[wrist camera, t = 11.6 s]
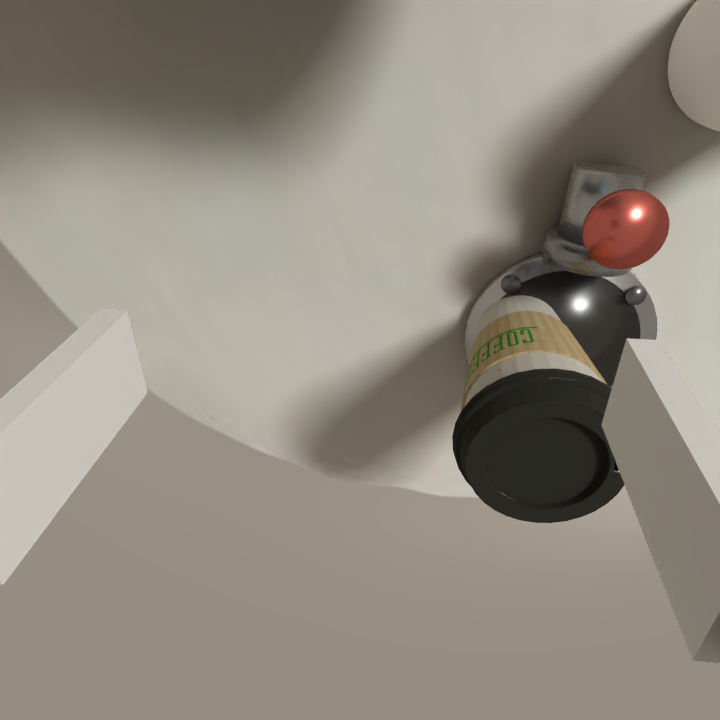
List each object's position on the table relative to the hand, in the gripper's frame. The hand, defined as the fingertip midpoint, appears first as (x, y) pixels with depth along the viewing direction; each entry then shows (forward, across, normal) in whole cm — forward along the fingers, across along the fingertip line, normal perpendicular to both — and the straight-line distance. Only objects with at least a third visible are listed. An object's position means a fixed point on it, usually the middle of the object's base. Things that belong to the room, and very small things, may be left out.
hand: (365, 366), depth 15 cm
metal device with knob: (+28, +12, -11) cm, 32 cm away
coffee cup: (+26, +9, -13) cm, 30 cm away
